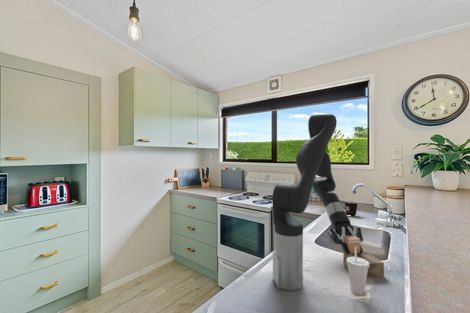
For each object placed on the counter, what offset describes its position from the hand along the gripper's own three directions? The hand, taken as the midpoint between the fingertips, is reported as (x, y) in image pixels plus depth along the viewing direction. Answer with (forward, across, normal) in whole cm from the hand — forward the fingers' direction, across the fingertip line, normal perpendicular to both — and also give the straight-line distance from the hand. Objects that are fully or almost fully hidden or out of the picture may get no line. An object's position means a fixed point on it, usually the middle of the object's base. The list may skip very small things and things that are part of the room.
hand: (354, 253), depth 87 cm
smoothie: (+15, -10, -8) cm, 19 cm away
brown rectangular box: (+7, 0, 0) cm, 7 cm away
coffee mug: (-47, +46, +54) cm, 85 cm away
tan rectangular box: (+2, 0, +4) cm, 5 cm away
